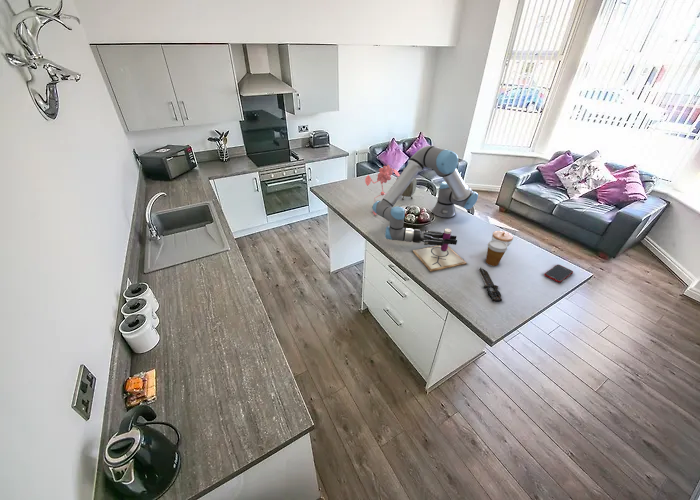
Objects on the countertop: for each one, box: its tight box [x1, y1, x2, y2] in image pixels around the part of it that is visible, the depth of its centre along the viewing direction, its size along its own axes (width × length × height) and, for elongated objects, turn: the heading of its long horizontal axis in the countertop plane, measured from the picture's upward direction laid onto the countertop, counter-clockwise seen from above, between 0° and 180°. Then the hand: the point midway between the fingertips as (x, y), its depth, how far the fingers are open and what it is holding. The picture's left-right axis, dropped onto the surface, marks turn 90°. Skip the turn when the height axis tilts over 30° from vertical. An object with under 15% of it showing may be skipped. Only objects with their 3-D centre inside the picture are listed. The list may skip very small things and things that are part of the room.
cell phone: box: [543, 264, 574, 283], centre depth 147 cm, size 8×15×1 cm, turn 124°
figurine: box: [364, 164, 401, 217], centre depth 194 cm, size 15×26×35 cm, turn 118°
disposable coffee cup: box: [485, 239, 509, 267], centre depth 153 cm, size 10×10×12 cm
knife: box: [478, 267, 503, 303], centre depth 141 cm, size 25×6×1 cm, turn 171°
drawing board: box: [412, 245, 468, 273], centre depth 160 cm, size 22×20×1 cm
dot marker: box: [441, 228, 452, 252], centre depth 159 cm, size 4×4×13 cm
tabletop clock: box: [395, 166, 418, 201], centre depth 219 cm, size 14×9×25 cm, turn 58°
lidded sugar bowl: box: [491, 230, 514, 248], centre depth 167 cm, size 11×11×9 cm
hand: (456, 240), depth 158 cm, fingers closed on dot marker, 4 cm apart
